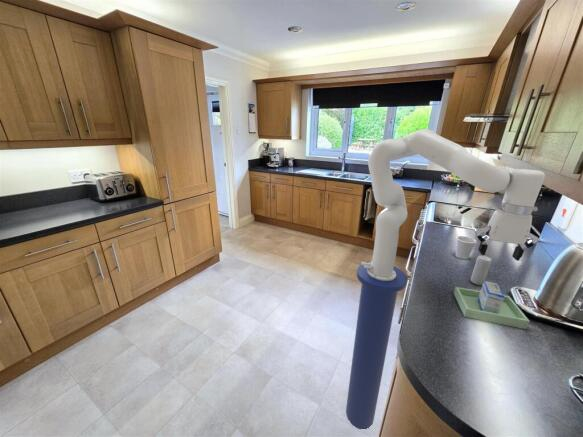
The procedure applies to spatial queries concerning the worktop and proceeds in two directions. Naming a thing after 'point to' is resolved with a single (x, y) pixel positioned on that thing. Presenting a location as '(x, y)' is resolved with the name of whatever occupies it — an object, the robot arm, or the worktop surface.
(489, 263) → the beverage can
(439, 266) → the worktop surface
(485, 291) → the medicine box
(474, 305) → the tray
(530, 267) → the worktop surface
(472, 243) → the dixie cup
